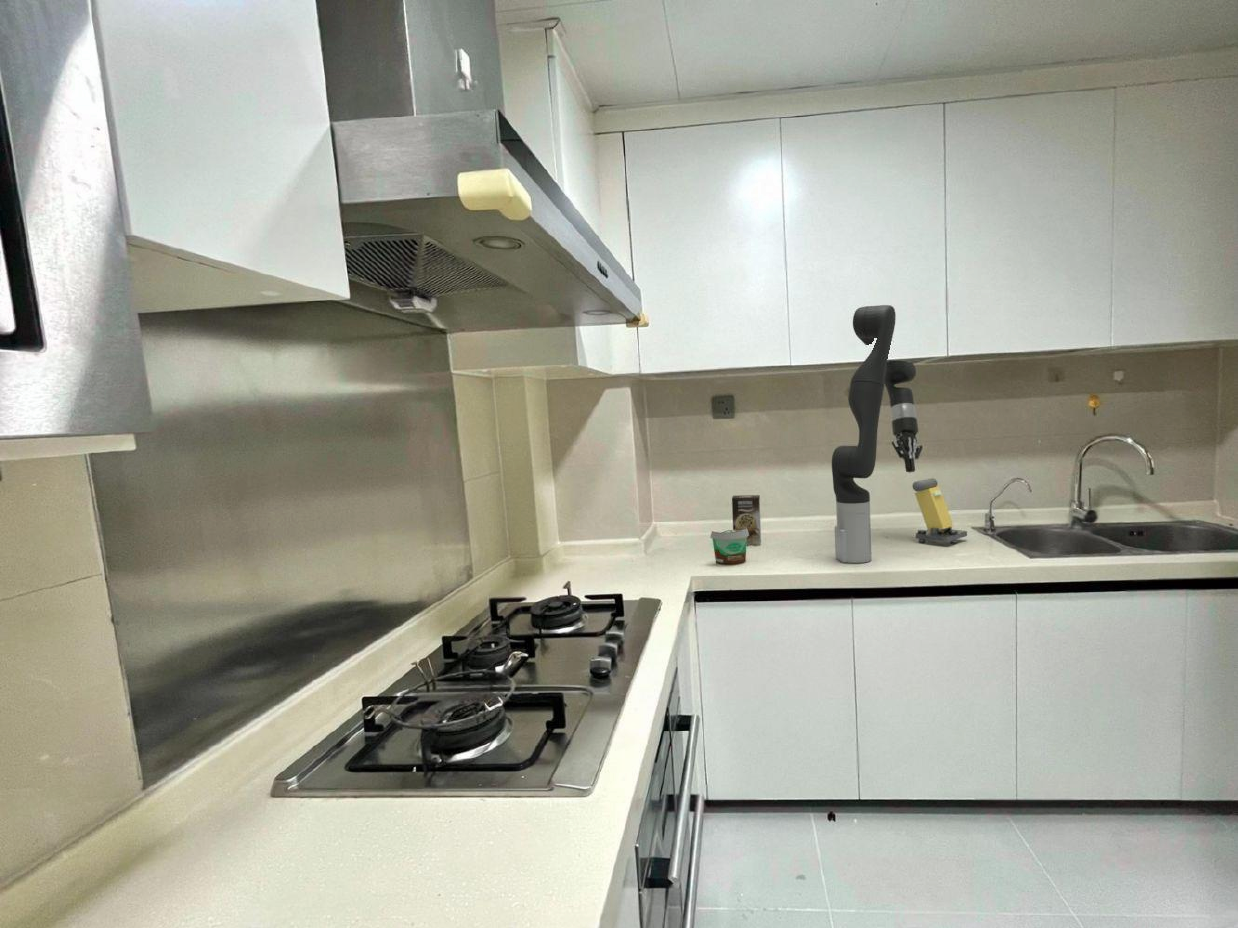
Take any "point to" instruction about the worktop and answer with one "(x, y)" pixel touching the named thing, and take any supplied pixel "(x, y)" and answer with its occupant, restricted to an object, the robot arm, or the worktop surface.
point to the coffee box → (747, 516)
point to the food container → (730, 546)
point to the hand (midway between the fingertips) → (910, 471)
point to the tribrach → (940, 535)
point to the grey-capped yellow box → (932, 505)
